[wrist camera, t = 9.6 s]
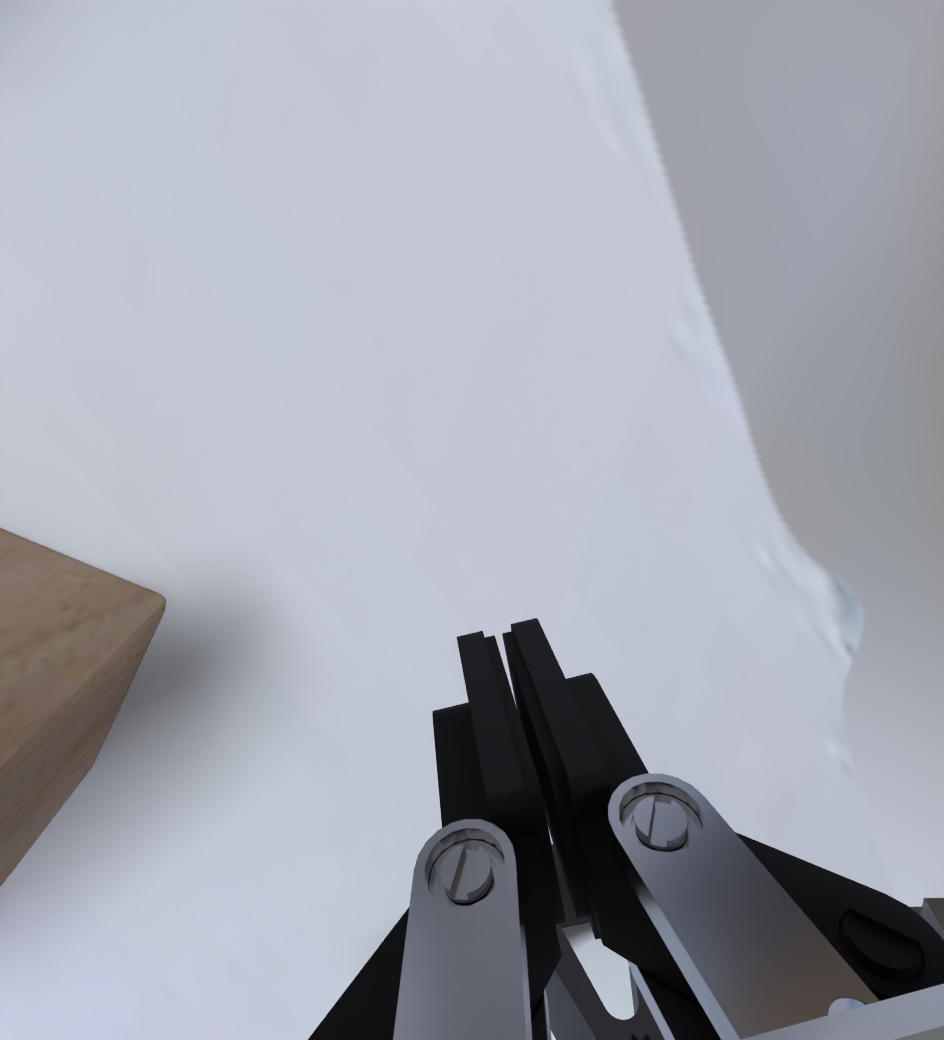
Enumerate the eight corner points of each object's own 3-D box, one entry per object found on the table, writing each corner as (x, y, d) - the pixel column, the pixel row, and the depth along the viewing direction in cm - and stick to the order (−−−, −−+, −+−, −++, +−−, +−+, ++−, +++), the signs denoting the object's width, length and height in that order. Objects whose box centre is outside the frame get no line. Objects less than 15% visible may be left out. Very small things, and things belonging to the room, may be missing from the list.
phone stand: (646, 825, 31) (787, 1103, 19) (649, 903, 32) (779, 1200, 21) (489, 856, 30) (538, 1163, 19) (500, 934, 32) (552, 1257, 20)
